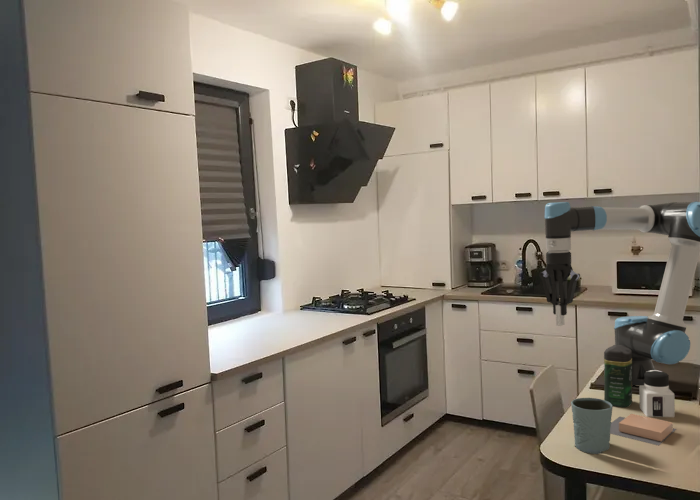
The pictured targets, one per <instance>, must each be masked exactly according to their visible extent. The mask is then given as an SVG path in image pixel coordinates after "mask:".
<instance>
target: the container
mask: <svg viewBox="0 0 700 500" xmlns="http://www.w3.org/2000/svg"><path fill="white" fill-rule="evenodd" d="M669 377H670V376H669V374H668V373H667V372H665V371H662V370H657V369H655V370H650V371H647V372H645V373H644V385H640V386H639V387H638V388H639V389H638V390H639V392H638V395H639V409H640V410H641V412H642V413H643V414H644V415H645V417H649V418H675V416H676V415H675V414H676V413H675V407H676V405H675V393H674V392H673V391H672V390H671V389H670V383H669V381H670V380H669V379H670V378H669Z"/></svg>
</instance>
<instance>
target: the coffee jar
mask: <svg viewBox="0 0 700 500" xmlns="http://www.w3.org/2000/svg"><path fill="white" fill-rule="evenodd" d="M603 363H604V364H603V367H604V372H603V373H604V374H603V375H604V378H603V379H604V383H603V384H604V390H603V391H604V393H603V394H604V399H603V400H605V401H608V402H610V403H611V404H612V406H613V407H615V408H629V407H630V406H631V405H632V404H633V386H632V351H631V350H630V349H629V348H628V347H627V346H621V345H615V344H613V345H612V346H609V347H607V348H606V349H604V352H603Z"/></svg>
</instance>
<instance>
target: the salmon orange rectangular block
mask: <svg viewBox="0 0 700 500" xmlns="http://www.w3.org/2000/svg"><path fill="white" fill-rule="evenodd" d="M673 425H674V424H673V421H672V422H671V421H668V420H663V419H659V418H655V417H647V416H644V415H640V414H639V415H638V414H635V413H634V414H633V413H629V415H627V416H626V417H625V419H624V420H622V421H621V422H620V423H619V431H620V432H624V433H628V434H632V435H637V436H641V437H645V438H649V439H653V440H657V441H662V440H663V439H665V438H666V437H667V436H668V435H669V434H670V433H671V432H672V431H673ZM665 440H666V439H665Z"/></svg>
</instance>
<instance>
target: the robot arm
mask: <svg viewBox="0 0 700 500" xmlns="http://www.w3.org/2000/svg"><path fill="white" fill-rule="evenodd" d="M544 226H545V229H544V230H545V233H544V234H545V250H546V251H547V252H546V253H545V263H546V267H545V270H543V271H541V272H539V273H538V276H539V278H540V280H541V282H542V286H543V289H544V294H545V298H546V301H547V302H548V303H550V304H552V309H553V310H552V313H553V315H555V326H558V327H562V326H563V325H565V316H566V315H567V314H568V311H567V309H568V308H567V307H568V304H572V303H573V302H574V297H575V293H576V287H577V284H578V283H577V282H578V280H579V279H580V277H581V274H580V273H577V272H576V271H574V269H573V266H572V252H571V250H572V239H571V237H572V235H571V234H572V233H573V232H583V231H585V232H586V231H593V232H594V231H597V230H627V231H628V230H633V231H634V230H635V231H637V230H638V231H640V232H641V233H652V234H659V235H664V236H668V237H667V240H668V241H669V243H670V244H671V245H670V250H669V254H668V258H667V261H666V265H665V269H664V273H663V277H662V281H661V285H660V287H659V293H658V296H657V301H656V304H655V309H654V312H653V313H652V314H651V315H649V316H646V315H632V316H631V315H630V316H628V315H627V316H621V317H617V318H616V319H615V321H614V327H613V329H614V345H621V346H627V347H628V348H629V349H630V350H631V351H632V385H644V373H645V372H647V371H650V370H656V369H655V366H654V363H653V361H655V362H657V363H660V364H665V365H675V364H678V363H680V362H681V361H683V360H684V359H685V358H686V357H687V355H688V354H689V352H690V349H691V340H690V337H689V335H688V334H687V333H686V330H687V325H686V324H685V322H684V317H685V313H686V309H687V305H688V300H689V297H690V293H691V289H692V285H693V281H694V278H695V274H696V269H697V267H698V261H699V259H700V201H685V202H684V201H683V202H674V201H673V202H663V203H659V204H645V205H644V204H643V205H640V206H639V207H602V206H599V205H598V206H595V205H594V206H593V205H591V206H571V204H570V202H568V201H559V202H548V203H546V204H545V206H544ZM569 278H570V280H569V284H568V279H569ZM567 284H568V285H567Z"/></svg>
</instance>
